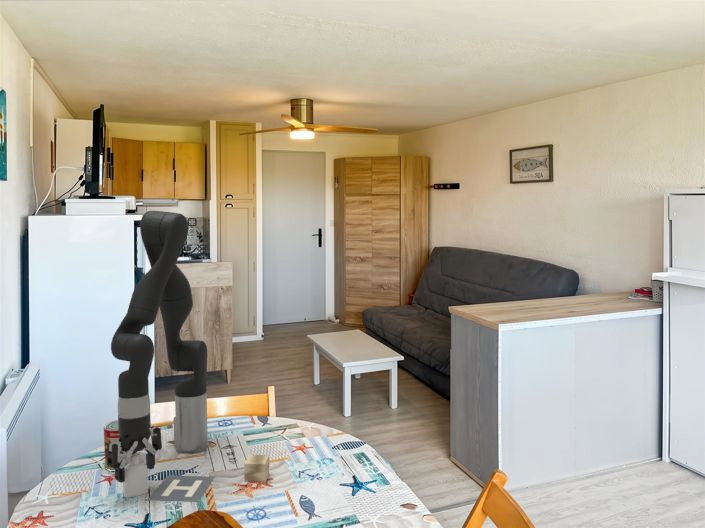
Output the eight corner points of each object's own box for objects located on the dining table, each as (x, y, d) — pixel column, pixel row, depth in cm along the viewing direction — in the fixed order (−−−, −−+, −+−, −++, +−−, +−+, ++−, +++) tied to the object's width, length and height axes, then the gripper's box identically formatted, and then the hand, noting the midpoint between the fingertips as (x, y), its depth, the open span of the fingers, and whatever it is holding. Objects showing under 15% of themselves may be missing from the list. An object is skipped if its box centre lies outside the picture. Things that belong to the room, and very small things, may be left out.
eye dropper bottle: (127, 491, 140) (126, 446, 139) (150, 490, 140) (148, 445, 139) (121, 499, 136) (119, 453, 135) (144, 499, 136) (142, 453, 135)
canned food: (131, 457, 160) (130, 417, 159) (138, 467, 153) (136, 426, 152) (102, 463, 155) (101, 423, 154) (108, 474, 149) (106, 432, 148)
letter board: (147, 502, 134) (147, 500, 134) (167, 477, 147) (167, 475, 147) (198, 504, 134) (198, 501, 134) (215, 478, 147) (215, 476, 147)
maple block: (244, 483, 144) (244, 463, 144) (249, 473, 150) (249, 454, 149) (264, 484, 144) (264, 464, 144) (269, 474, 149) (269, 455, 149)
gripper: (118, 423, 128) (120, 490, 129) (167, 406, 140) (168, 467, 141) (98, 417, 132) (101, 482, 133) (148, 401, 144) (149, 461, 145)
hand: (136, 474), depth 137 cm, fingers open, 8 cm apart
